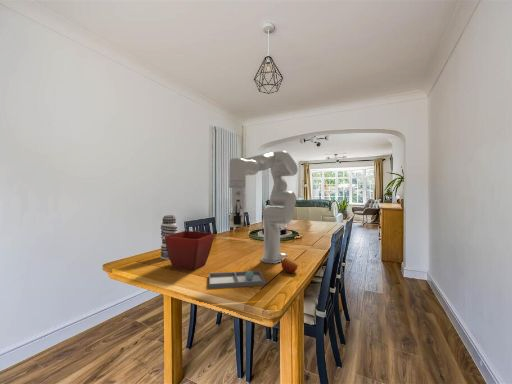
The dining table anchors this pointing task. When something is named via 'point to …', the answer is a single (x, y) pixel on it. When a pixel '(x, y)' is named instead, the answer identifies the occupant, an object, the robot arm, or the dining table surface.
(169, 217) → the decorative candle
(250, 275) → the teal ball
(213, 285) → the compartment box
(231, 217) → the letter cube
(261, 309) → the dining table surface
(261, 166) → the robot arm
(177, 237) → the plant pot
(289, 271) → the fruit
